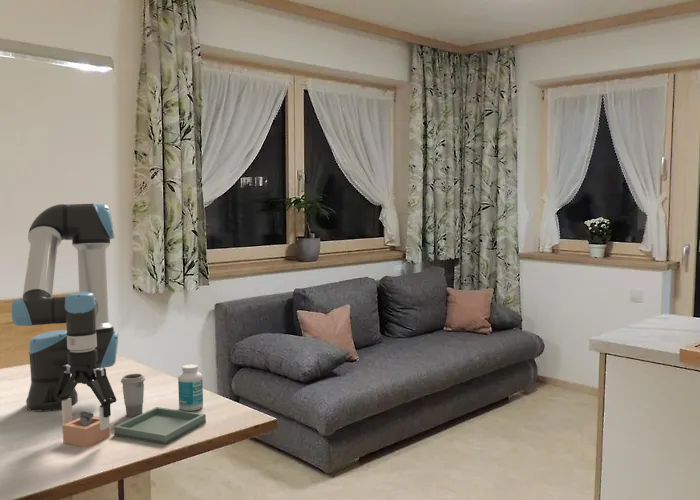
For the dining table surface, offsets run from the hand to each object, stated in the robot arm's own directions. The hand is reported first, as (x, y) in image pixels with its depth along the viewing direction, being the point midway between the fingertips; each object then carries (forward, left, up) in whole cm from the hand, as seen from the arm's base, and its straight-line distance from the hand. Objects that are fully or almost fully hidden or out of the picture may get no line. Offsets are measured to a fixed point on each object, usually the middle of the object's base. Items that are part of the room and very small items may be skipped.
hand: (86, 425), depth 176 cm
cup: (-2, +21, -4) cm, 22 cm away
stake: (0, 0, -4) cm, 4 cm away
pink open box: (0, 0, -4) cm, 4 cm away
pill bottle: (+11, +32, -4) cm, 34 cm away
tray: (+14, +14, -4) cm, 20 cm away
